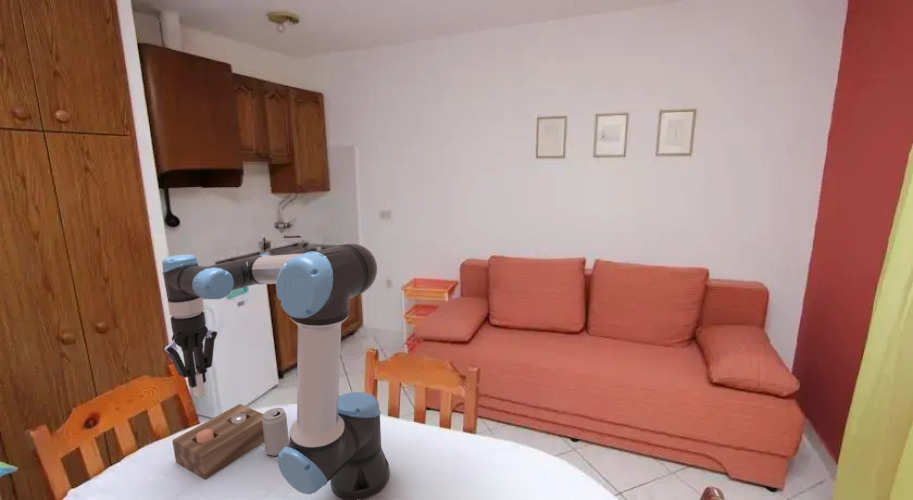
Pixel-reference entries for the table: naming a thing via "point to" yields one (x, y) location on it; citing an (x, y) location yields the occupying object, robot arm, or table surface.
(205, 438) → the terracotta plug
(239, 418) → the grey plug
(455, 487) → the table surface
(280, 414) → the beverage can
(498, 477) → the table surface
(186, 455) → the socket board
